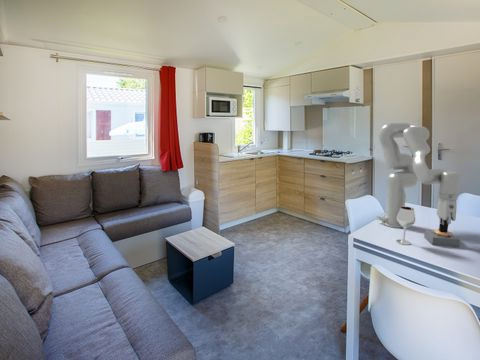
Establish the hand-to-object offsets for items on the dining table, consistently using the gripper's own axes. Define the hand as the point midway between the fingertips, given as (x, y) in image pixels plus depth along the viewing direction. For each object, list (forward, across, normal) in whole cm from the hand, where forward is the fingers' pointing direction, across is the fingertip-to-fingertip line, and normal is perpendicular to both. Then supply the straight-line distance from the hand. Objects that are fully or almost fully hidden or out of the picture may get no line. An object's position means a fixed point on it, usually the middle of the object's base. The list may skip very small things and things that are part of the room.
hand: (442, 231), depth 149 cm
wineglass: (+6, -4, +19) cm, 20 cm away
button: (+5, 0, 0) cm, 5 cm away
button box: (+6, 0, 0) cm, 6 cm away
